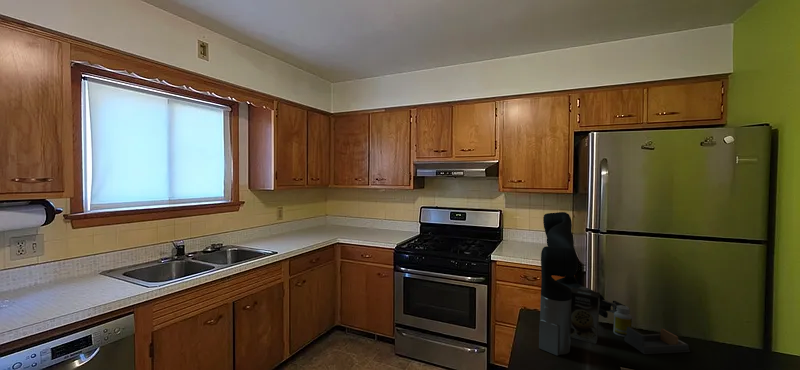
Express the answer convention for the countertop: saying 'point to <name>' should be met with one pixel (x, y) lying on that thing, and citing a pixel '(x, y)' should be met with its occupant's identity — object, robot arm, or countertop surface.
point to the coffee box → (585, 315)
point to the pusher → (668, 337)
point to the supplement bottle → (622, 320)
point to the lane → (652, 343)
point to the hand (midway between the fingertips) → (617, 314)
